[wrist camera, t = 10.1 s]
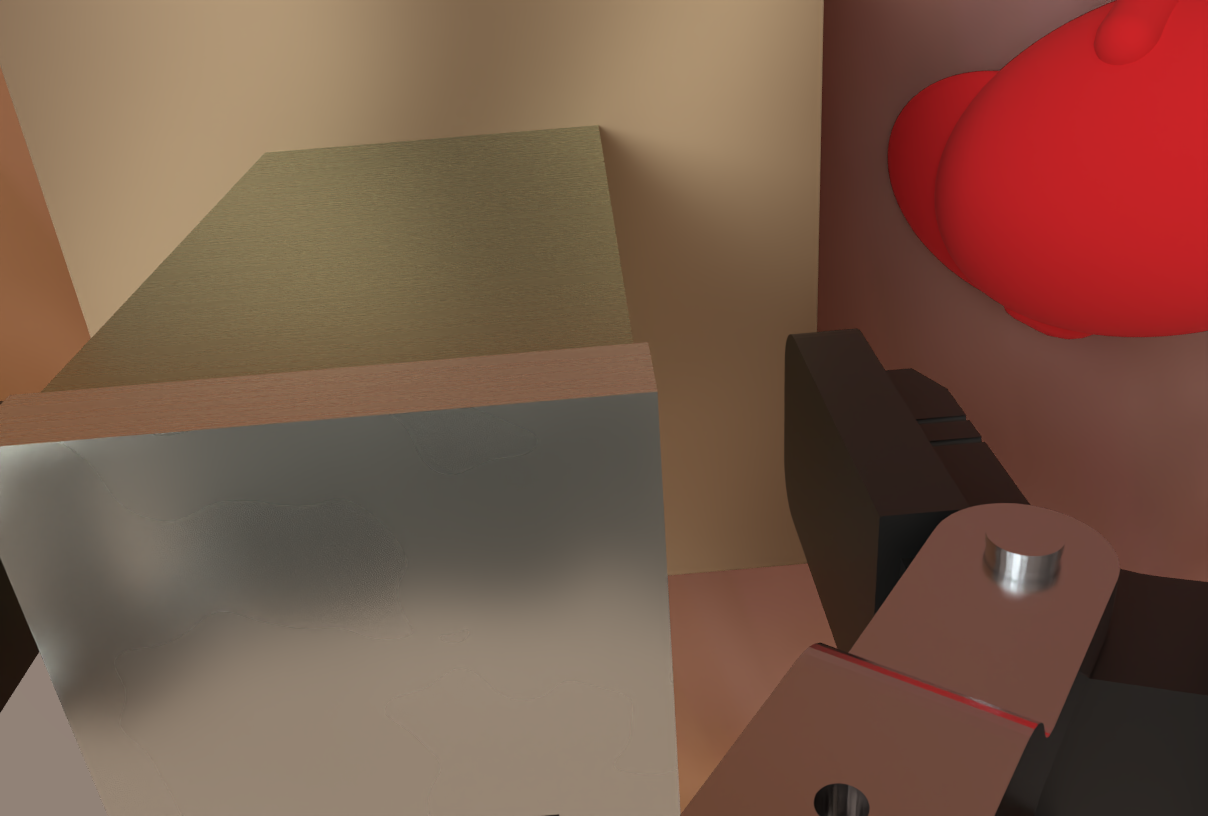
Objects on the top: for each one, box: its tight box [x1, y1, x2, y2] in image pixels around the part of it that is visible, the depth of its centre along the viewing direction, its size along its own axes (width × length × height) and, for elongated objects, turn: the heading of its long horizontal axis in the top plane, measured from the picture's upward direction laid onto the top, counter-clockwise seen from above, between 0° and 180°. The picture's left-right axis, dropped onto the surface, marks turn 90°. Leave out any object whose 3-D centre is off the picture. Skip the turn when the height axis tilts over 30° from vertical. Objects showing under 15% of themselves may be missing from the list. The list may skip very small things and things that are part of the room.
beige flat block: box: [0, 0, 824, 576], centre depth 18 cm, size 11×11×5 cm
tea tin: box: [0, 125, 680, 816], centre depth 12 cm, size 5×5×8 cm
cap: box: [888, 0, 1208, 339], centre depth 17 cm, size 8×6×6 cm
